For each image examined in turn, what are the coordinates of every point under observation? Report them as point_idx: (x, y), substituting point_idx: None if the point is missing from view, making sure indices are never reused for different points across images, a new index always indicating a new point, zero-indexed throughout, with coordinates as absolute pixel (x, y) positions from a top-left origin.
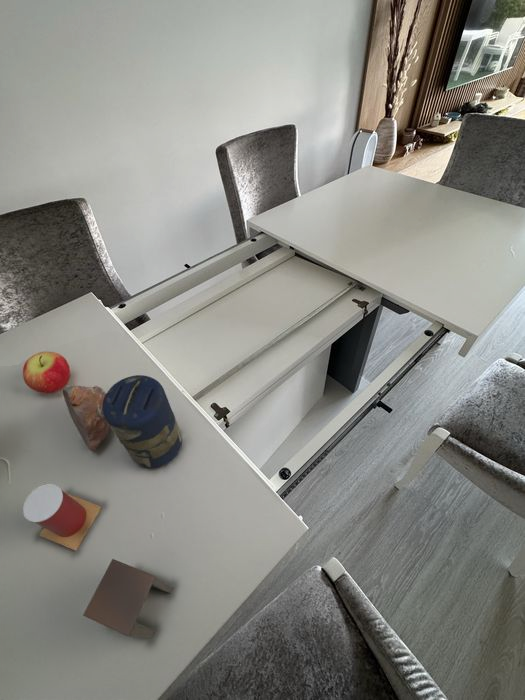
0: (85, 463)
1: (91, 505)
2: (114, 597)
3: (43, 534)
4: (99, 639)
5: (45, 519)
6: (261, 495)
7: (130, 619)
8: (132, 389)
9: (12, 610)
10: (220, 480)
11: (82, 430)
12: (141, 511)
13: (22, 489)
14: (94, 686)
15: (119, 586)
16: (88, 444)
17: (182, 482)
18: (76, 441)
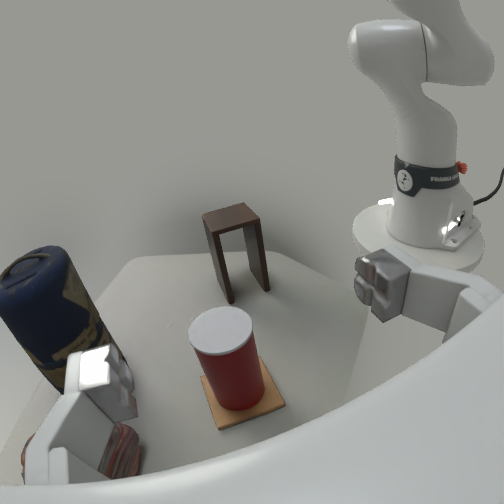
0: (165, 451)
1: (206, 385)
2: (233, 216)
3: (279, 399)
4: (288, 288)
5: (233, 307)
6: (116, 283)
7: (235, 206)
8: (14, 261)
9: (350, 351)
10: (114, 311)
11: (105, 448)
12: (178, 342)
13: None
14: (307, 270)
15: (224, 219)
16: (127, 438)
17: (129, 334)
18: None
